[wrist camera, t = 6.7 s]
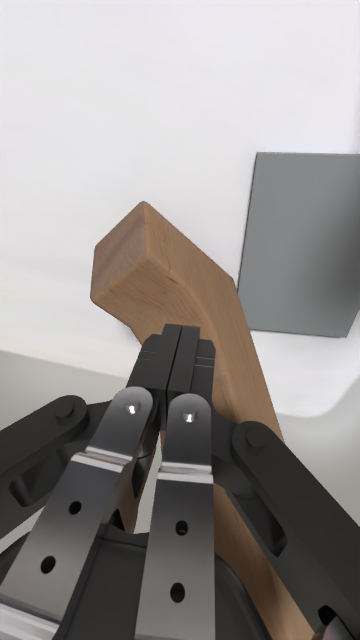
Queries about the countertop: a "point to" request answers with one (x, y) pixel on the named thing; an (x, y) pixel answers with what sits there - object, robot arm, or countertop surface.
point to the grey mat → (302, 244)
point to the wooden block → (229, 370)
